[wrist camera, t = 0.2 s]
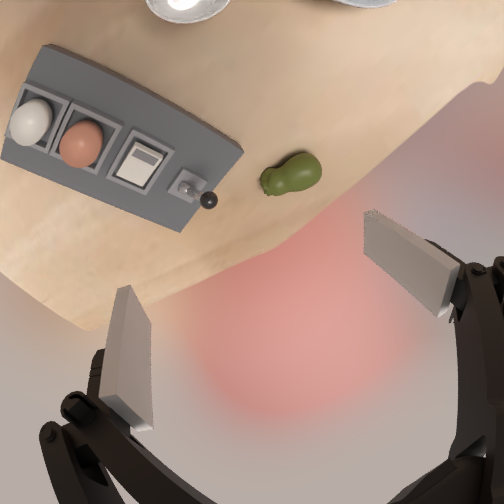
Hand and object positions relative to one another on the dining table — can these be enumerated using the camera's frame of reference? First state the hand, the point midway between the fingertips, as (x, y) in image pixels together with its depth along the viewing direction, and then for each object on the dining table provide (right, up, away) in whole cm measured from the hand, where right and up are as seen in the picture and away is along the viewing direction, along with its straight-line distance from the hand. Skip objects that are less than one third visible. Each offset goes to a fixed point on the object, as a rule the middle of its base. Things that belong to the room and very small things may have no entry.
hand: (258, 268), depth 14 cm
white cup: (-9, +30, +7) cm, 32 cm away
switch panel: (-18, +16, +17) cm, 30 cm away
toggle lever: (-9, +9, +21) cm, 25 cm away
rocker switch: (-14, +12, +17) cm, 25 cm away
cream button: (-25, +16, +7) cm, 31 cm away
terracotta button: (-20, +14, +12) cm, 27 cm away
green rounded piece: (+5, +14, +30) cm, 33 cm away
